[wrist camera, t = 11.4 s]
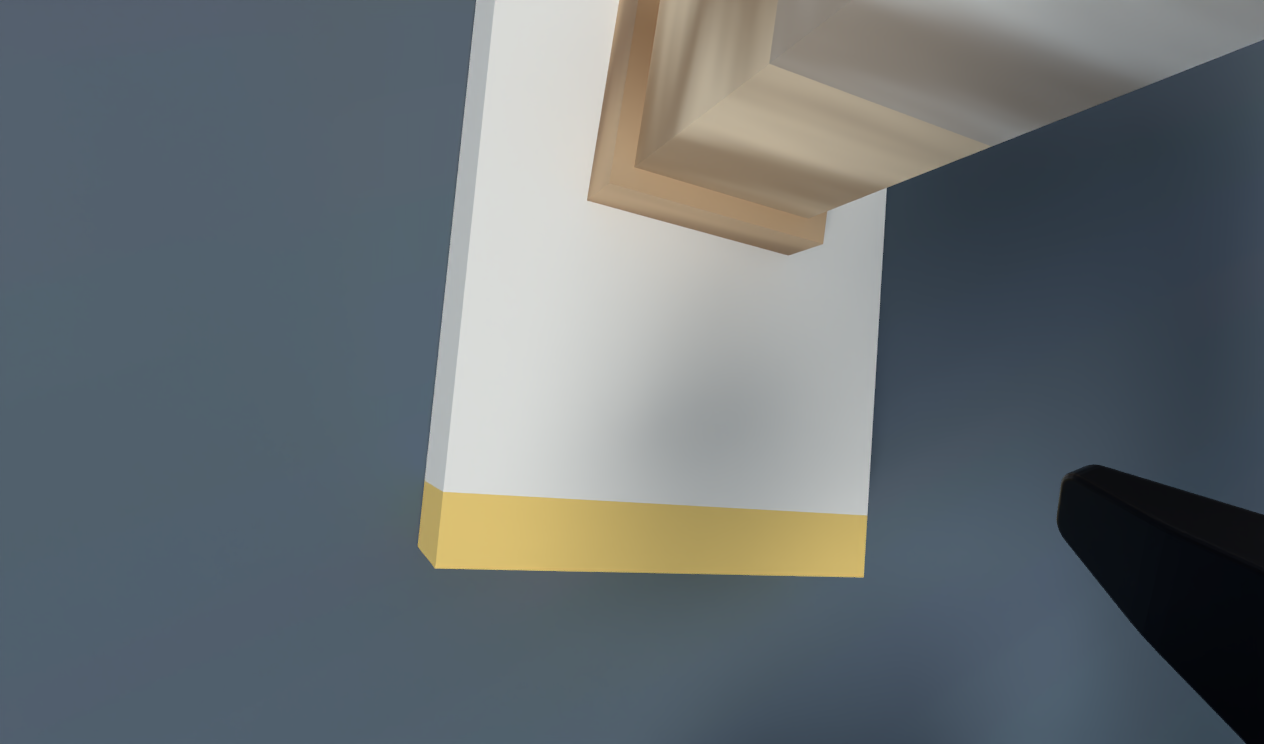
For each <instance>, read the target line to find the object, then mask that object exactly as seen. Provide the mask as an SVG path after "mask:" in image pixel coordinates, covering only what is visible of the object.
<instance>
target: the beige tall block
mask: <svg viewBox="0 0 1264 744" xmlns="http://www.w3.org/2000/svg"><path fill="white" fill-rule="evenodd" d="M1261 40H1264V0H619V5H618V11H617V17H616V23H615V29H614V36H613V42H612V48H611V54H610V60H609V67H608V73H607V79H606V85H605V91H604V98H603V104H602V110H601V116H600V122H599V128H598V135H597V141H596V147H595V153H594V159H593V166H592V172H591V178H590V184H589V190H588V197H587V201H590V202H594V203H598V204H601V205H605V206H609V207H612V208H616V209H620V210H623V211H627V212H631V213H634V214H638V215H642V216H645V217H649V218H653V219H656V220H660V221H664V222H667V223H671V224H675V225H678V226H682V227H686V228H689V229H693V230H696V231H700V232H704V233H707V234H711V235H715V236H718V237H722V238H726V239H729V240H733V241H737V242H740V243H744V244H748V245H751V246H755V247H759V248H762V249H766V250H770V251H773V252H777V253H781V254H784V255H788V256H789V255H792V254H795V253H798V252H801V251H804V250H807V249H810V248H813V247H816V246H819V245H822V244H823V241H824V233H825V225H826V218H827V211H829V210H832V209H834V208H837V207H839V206H842V205H844V204H847V203H849V202H852V201H854V200H857V199H859V198H862V197H865V196H867V195H870V194H872V193H875V192H877V191H880V190H882V189H885V188H887V187H890V186H893V185H895V184H898V183H900V182H903V181H905V180H908V179H910V178H913V177H915V176H918V175H921V174H923V173H926V172H928V171H931V170H933V169H936V168H938V167H941V166H943V165H946V164H949V163H951V162H954V161H956V160H959V159H961V158H964V157H966V156H969V155H971V154H974V153H976V152H979V151H982V150H984V149H987V148H989V147H992V146H994V145H997V144H999V143H1002V142H1004V141H1007V140H1010V139H1012V138H1015V137H1017V136H1020V135H1022V134H1025V133H1027V132H1030V131H1032V130H1035V129H1038V128H1040V127H1043V126H1045V125H1048V124H1050V123H1053V122H1055V121H1058V120H1060V119H1063V118H1066V117H1068V116H1071V115H1073V114H1076V113H1078V112H1081V111H1083V110H1086V109H1088V108H1091V107H1093V106H1096V105H1099V104H1101V103H1104V102H1106V101H1109V100H1111V99H1114V98H1116V97H1119V96H1121V95H1124V94H1127V93H1129V92H1132V91H1134V90H1137V89H1139V88H1142V87H1144V86H1147V85H1149V84H1152V83H1155V82H1157V81H1160V80H1162V79H1165V78H1167V77H1170V76H1172V75H1175V74H1177V73H1180V72H1183V71H1185V70H1188V69H1190V68H1193V67H1195V66H1198V65H1200V64H1203V63H1205V62H1208V61H1210V60H1213V59H1216V58H1218V57H1221V56H1223V55H1226V54H1228V53H1231V52H1233V51H1236V50H1238V49H1241V48H1244V47H1246V46H1249V45H1251V44H1254V43H1256V42H1259V41H1261Z"/></svg>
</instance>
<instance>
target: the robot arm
mask: <svg viewBox="0 0 1264 744" xmlns="http://www.w3.org/2000/svg"><path fill="white" fill-rule="evenodd" d="M1057 525H1058V528H1059V531H1060V533H1061V535H1062V537H1063V538H1064V540H1065V541H1066V542H1067V543H1068V545H1069V546H1070V547H1071V548H1072V550H1073V551H1074V552H1075V553H1076V555H1077V556H1078V557H1079V558H1080V560H1081V561H1082V562H1083V563H1084V565H1085V566H1086V567H1087V568H1088V570H1089V571H1090V572H1091V573H1092V575H1093V576H1094V577H1095V578H1096V580H1097V581H1098V582H1099V583H1100V585H1101V586H1102V587H1103V588H1104V590H1105V591H1106V592H1107V593H1108V595H1109V596H1110V597H1111V598H1112V600H1113V601H1114V602H1115V603H1116V605H1117V606H1118V607H1119V608H1120V610H1121V611H1122V612H1123V613H1124V615H1125V616H1126V617H1127V618H1128V620H1129V621H1130V622H1131V623H1132V624H1133V625H1134V627H1135V628H1136V629H1137V630H1138V631H1139V632H1140V634H1141V635H1142V636H1143V637H1144V638H1145V639H1146V640H1147V641H1148V642H1149V643H1150V645H1151V646H1152V647H1153V648H1154V649H1155V650H1156V651H1157V652H1158V653H1159V654H1160V655H1161V656H1162V657H1163V658H1164V659H1165V660H1166V661H1167V662H1168V663H1169V664H1170V665H1171V667H1172V668H1173V669H1174V670H1175V671H1176V672H1177V673H1178V674H1179V675H1180V676H1181V677H1182V678H1183V679H1184V680H1185V681H1186V682H1187V683H1188V684H1189V685H1190V686H1191V687H1192V688H1193V689H1194V690H1195V691H1196V692H1197V693H1198V694H1199V695H1200V696H1201V698H1202V699H1203V700H1204V701H1205V702H1206V703H1207V704H1208V705H1209V706H1210V707H1211V708H1212V709H1213V710H1214V711H1215V712H1216V713H1217V714H1218V715H1219V716H1220V717H1221V718H1222V719H1223V720H1224V721H1225V722H1226V723H1227V724H1228V725H1229V726H1230V727H1231V728H1232V730H1233V731H1234V732H1235V733H1236V734H1237V735H1238V736H1239V737H1240V738H1241V739H1242V740H1243V741H1244V742H1245V743H1246V744H1264V515H1263V514H1259V513H1256V512H1253V511H1249V510H1246V509H1243V508H1240V507H1236V506H1233V505H1230V504H1226V503H1223V502H1220V501H1217V500H1213V499H1210V498H1207V497H1203V496H1200V495H1197V494H1194V493H1190V492H1187V491H1184V490H1180V489H1177V488H1174V487H1171V486H1167V485H1164V484H1161V483H1157V482H1154V481H1151V480H1147V479H1144V478H1141V477H1138V476H1134V475H1131V474H1128V473H1124V472H1121V471H1118V470H1115V469H1111V468H1108V467H1105V466H1101V465H1088V466H1085V467H1082V468H1080V469H1077V470H1075V471H1073V472H1070V473H1068V474H1066V475H1065V476H1064V477H1063V479H1062V482H1061V487H1060V495H1059V503H1058V511H1057Z"/></svg>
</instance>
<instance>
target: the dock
mask: <svg viewBox="0 0 1264 744" xmlns="http://www.w3.org/2000/svg"><path fill="white" fill-rule="evenodd" d="M618 5H619V0H476V8H475V17H474V27H473V36H472V45H471V55H470V64H469V73H468V83H467V92H466V101H465V111H464V120H463V129H462V138H461V148H460V157H459V166H458V176H457V185H456V194H455V204H454V213H453V222H452V232H451V241H450V250H449V259H448V269H447V278H446V287H445V297H444V306H443V315H442V325H441V334H440V343H439V353H438V362H437V371H436V381H435V390H434V399H433V408H432V418H431V427H430V436H429V446H428V455H427V464H426V474H425V483H424V492H423V502H422V511H421V520H420V530H419V539H418V547H419V549H420V550H421V551H422V552H423V554H424V555H425V556H426V557H427V559H428V560H429V561H430V562H431V564H432V565H433V566H434V567H435V568H442V569H490V570H537V571H585V572H632V573H680V574H727V575H775V576H822V577H864V562H865V545H866V528H867V511H868V494H869V478H870V461H871V444H872V427H873V411H874V394H875V377H876V360H877V343H878V327H879V310H880V293H881V276H882V259H883V243H884V226H885V209H886V192H887V188H885V189H882V190H880V191H877V192H875V193H872V194H870V195H867V196H865V197H862V198H859V199H857V200H854V201H852V202H849V203H847V204H844V205H842V206H839V207H837V208H834V209H832V210H829V211H827V218H826V225H825V233H824V241H823V244H822V245H819V246H816V247H813V248H810V249H807V250H804V251H801V252H798V253H795V254H792V255H789V256H788V255H784V254H781V253H777V252H773V251H770V250H766V249H762V248H759V247H755V246H751V245H748V244H744V243H740V242H737V241H733V240H729V239H726V238H722V237H718V236H715V235H711V234H707V233H704V232H700V231H696V230H693V229H689V228H686V227H682V226H678V225H675V224H671V223H667V222H664V221H660V220H656V219H653V218H649V217H645V216H642V215H638V214H634V213H631V212H627V211H623V210H620V209H616V208H612V207H609V206H605V205H601V204H598V203H594V202H590V201H587V197H588V190H589V184H590V178H591V172H592V166H593V159H594V153H595V147H596V141H597V135H598V128H599V122H600V116H601V110H602V104H603V98H604V91H605V85H606V79H607V73H608V67H609V60H610V54H611V48H612V42H613V36H614V29H615V23H616V17H617V11H618Z"/></svg>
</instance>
